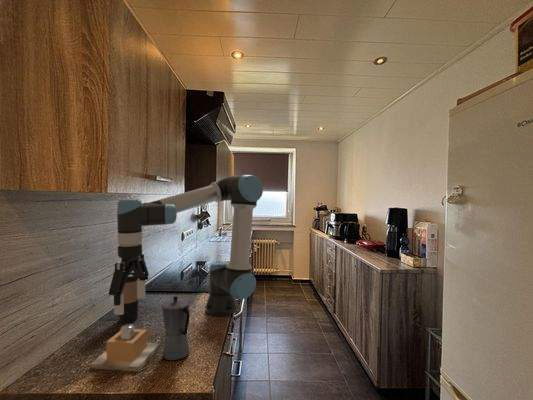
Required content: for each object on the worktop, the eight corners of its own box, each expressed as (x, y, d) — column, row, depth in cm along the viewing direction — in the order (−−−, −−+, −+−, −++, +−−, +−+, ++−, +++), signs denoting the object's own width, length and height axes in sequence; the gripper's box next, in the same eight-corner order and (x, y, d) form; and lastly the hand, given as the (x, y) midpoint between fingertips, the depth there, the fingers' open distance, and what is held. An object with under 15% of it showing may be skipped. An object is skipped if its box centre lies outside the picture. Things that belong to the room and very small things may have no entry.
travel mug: (130, 324, 120) (130, 277, 119) (114, 322, 122) (114, 276, 121) (141, 316, 127) (142, 272, 127) (127, 315, 129) (127, 271, 129)
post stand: (117, 344, 104) (117, 316, 104) (159, 347, 102) (159, 319, 102) (90, 368, 90) (90, 335, 90) (138, 371, 88) (138, 338, 88)
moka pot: (176, 341, 107) (177, 289, 106) (202, 356, 97) (202, 299, 97) (153, 352, 99) (153, 296, 99) (178, 369, 90) (178, 307, 89)
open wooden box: (123, 345, 101) (123, 328, 101) (147, 346, 100) (147, 329, 100) (106, 359, 92) (106, 341, 92) (132, 361, 91) (132, 343, 91)
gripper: (139, 238, 109) (139, 292, 110) (94, 252, 84) (95, 321, 85) (157, 238, 109) (158, 292, 109) (118, 252, 84) (119, 322, 84)
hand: (131, 305), depth 97 cm, fingers open, 13 cm apart
